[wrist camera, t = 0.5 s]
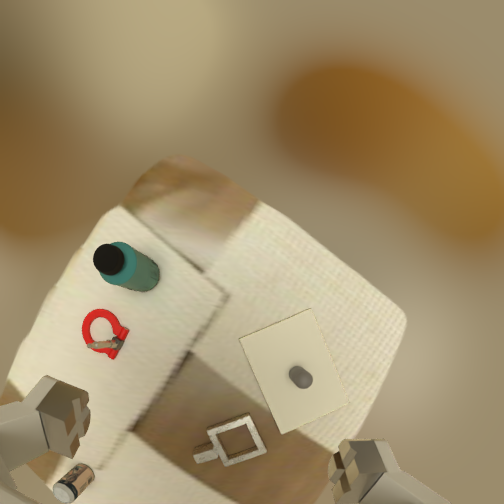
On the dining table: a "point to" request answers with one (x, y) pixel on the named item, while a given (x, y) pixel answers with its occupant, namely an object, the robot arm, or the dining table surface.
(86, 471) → the beer can
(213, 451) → the steel link
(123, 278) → the beverage bottle
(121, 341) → the tow hook
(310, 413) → the board
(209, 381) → the dining table surface
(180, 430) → the dining table surface
